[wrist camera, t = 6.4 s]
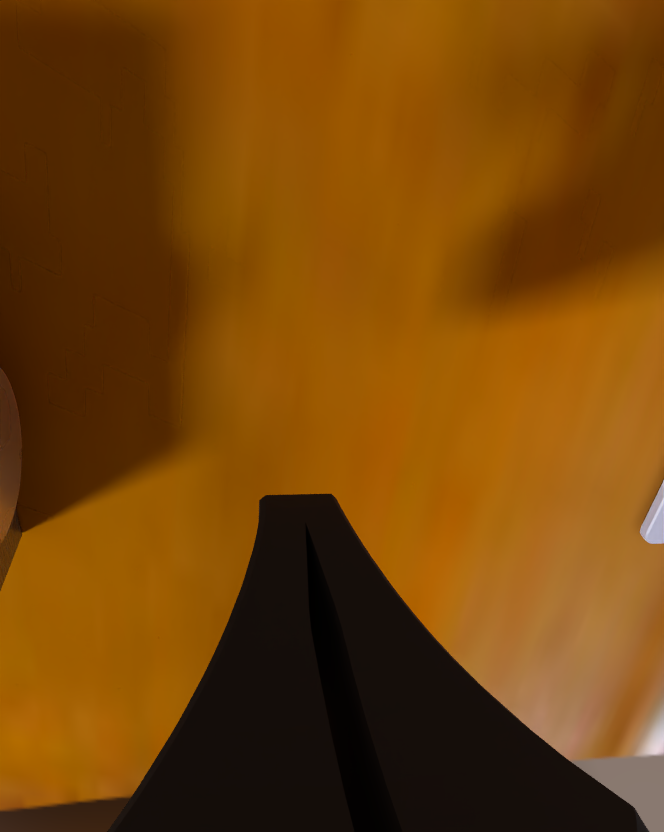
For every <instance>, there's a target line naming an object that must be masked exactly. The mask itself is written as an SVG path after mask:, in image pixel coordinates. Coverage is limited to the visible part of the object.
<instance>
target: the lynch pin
mask: <svg viewBox="0 0 664 832" xmlns="http://www.w3.org/2000/svg"><path fill="white" fill-rule="evenodd" d="M21 469H22V436H21V425H20V418H19V412H18V407H17V403H16V399H15V395H14V392H13V389H12V387H11V384H10V382H9V380H8V378H7V376H6V374H5V373H4V371H3V370H2V369H1V368H0V544H1V542H2V541H3V539H4V537H5V536H6V534H7V532H8V529H9V527H10V524H11V522H12V519H13V516H14V512H15V509H16V504H17V500H18V494H19V488H20V481H21Z"/></svg>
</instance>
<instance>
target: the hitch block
mask: <svg viewBox="0 0 664 832" xmlns="http://www.w3.org/2000/svg"><path fill="white" fill-rule="evenodd" d="M21 536H22V531H21V527H20V523H19V519H18V515H17V511H16V509H15V512H14V516H13V519H12V522H11V524H10V527H9V529H8V532H7V534H6V536H5V537H4V539H3V541H2V542H1V544H0V590H1V588H2V585H3V583H4V580H5V577H6V575H7V572H8V570H9V567H10V565H11V562H12V559H13V557H14V554H15V552H16V549H17V547H18V544H19V541H20V539H21Z"/></svg>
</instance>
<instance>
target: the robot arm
mask: <svg viewBox="0 0 664 832" xmlns="http://www.w3.org/2000/svg"><path fill="white" fill-rule="evenodd" d="M640 533H641V535H642V537H643V538H644V539H645V540H646V541H647V542H648V543H653V544H657V543H664V481H663V483H662V485H661V487H660V489H659V491H658V493H657V495H656V497H655V500H654V502H653V504H652V506H651V508H650V510H649V512H648V514H647V516H646V518H645V520H644V522H643V524H642V526H641V529H640ZM107 832H649V831H648V829H647V828H646V826H645V825H644V823H643V821H642V820H641V818H640V817H639V815H638V813H637V812H636V810H635V808H634V807H633V806H631V805H630V804H629V803H627V802H626V801H624V800H623V799H622V798H620V797H619V796H618V795H616V794H615V793H613V792H612V791H611V790H609V789H608V788H606V787H605V786H604V785H602V784H601V783H599V782H598V781H597V780H595V779H594V778H592V777H591V776H590V775H588V774H587V773H585V772H584V771H583V770H581V769H580V768H579V767H577V766H576V765H574V764H573V763H572V762H570V761H569V760H568V759H566V758H565V757H564V756H562V755H561V754H560V753H559V752H557V751H556V750H555V749H554V748H552V747H551V746H550V745H549V744H547V743H546V742H545V741H544V740H543V739H541V738H540V737H539V736H538V735H536V734H535V733H534V732H533V731H531V730H530V729H529V728H528V727H527V726H526V725H525V724H523V723H522V722H521V721H520V720H519V719H518V718H517V717H516V716H514V715H513V714H512V713H511V712H510V711H509V710H508V709H507V708H505V707H504V706H503V705H502V704H501V703H500V702H499V701H498V700H497V699H495V698H494V697H493V696H492V695H491V694H490V693H489V692H488V691H486V690H485V689H484V688H483V687H482V686H481V685H480V684H479V683H478V682H477V681H476V680H475V679H474V678H473V677H472V676H471V675H470V674H469V673H468V672H467V671H466V670H465V669H464V668H463V667H462V666H461V665H460V664H459V663H458V662H457V661H456V660H455V659H454V658H453V657H452V656H451V655H450V654H449V653H448V652H447V651H446V650H445V649H444V647H443V646H442V645H441V644H440V643H439V642H438V641H437V640H436V639H435V638H434V637H433V635H432V634H431V633H430V632H429V631H428V630H427V629H426V628H425V626H424V625H423V624H422V623H421V622H420V620H419V619H418V618H417V617H416V616H415V614H414V613H413V612H412V611H411V609H410V608H409V607H408V606H407V605H406V603H405V602H404V601H403V600H402V598H401V597H400V596H399V594H398V593H397V592H396V590H395V589H394V588H393V587H392V585H391V584H390V583H389V581H388V580H387V578H386V577H385V576H384V574H383V573H382V571H381V570H380V569H379V567H378V566H377V564H376V563H375V561H374V560H373V559H372V557H371V556H370V554H369V553H368V551H367V550H366V548H365V547H364V545H363V544H362V542H361V541H360V539H359V537H358V536H357V534H356V533H355V531H354V529H353V528H352V526H351V524H350V523H349V521H348V519H347V518H346V516H345V514H344V512H343V511H342V509H341V507H340V505H339V503H338V501H337V499H336V498H335V497H334V496H333V495H332V494H299V495H266V496H264V497H263V498H262V499H260V500H259V523H258V529H257V535H256V539H255V543H254V548H253V551H252V555H251V558H250V561H249V565H248V568H247V571H246V575H245V578H244V581H243V584H242V587H241V590H240V592H239V595H238V598H237V600H236V603H235V605H234V608H233V610H232V613H231V616H230V618H229V621H228V623H227V626H226V628H225V630H224V633H223V635H222V637H221V639H220V642H219V644H218V646H217V648H216V650H215V653H214V655H213V657H212V659H211V661H210V663H209V665H208V667H207V669H206V671H205V673H204V675H203V677H202V679H201V681H200V683H199V685H198V687H197V688H196V690H195V692H194V694H193V696H192V698H191V700H190V702H189V704H188V705H187V707H186V709H185V711H184V713H183V714H182V716H181V718H180V720H179V722H178V723H177V725H176V727H175V728H174V730H173V732H172V734H171V735H170V737H169V738H168V740H167V742H166V743H165V745H164V747H163V748H162V750H161V751H160V753H159V755H158V756H157V758H156V759H155V761H154V763H153V764H152V766H151V767H150V769H149V771H148V772H147V774H146V775H145V777H144V779H143V780H142V782H141V783H140V785H139V787H138V788H137V790H136V791H135V793H134V794H133V796H132V797H131V799H130V800H129V802H128V803H127V804H126V806H125V807H124V809H123V810H122V812H121V813H120V815H119V816H118V817H117V819H116V820H115V821H114V823H113V824H112V826H111V827H110V829H109V830H108V831H107Z"/></svg>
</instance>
